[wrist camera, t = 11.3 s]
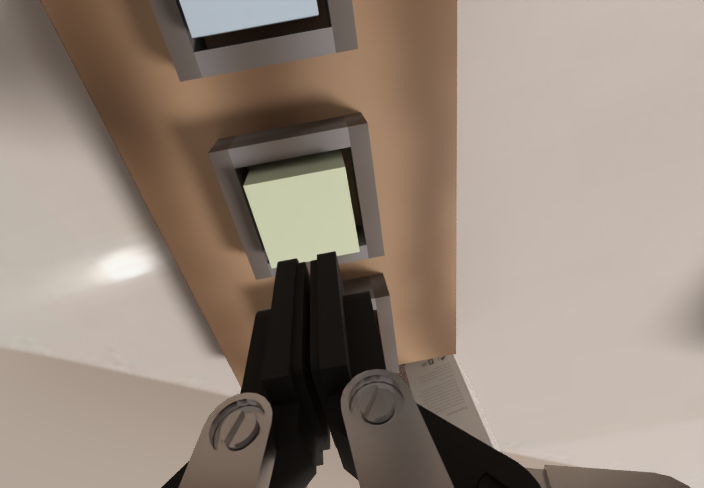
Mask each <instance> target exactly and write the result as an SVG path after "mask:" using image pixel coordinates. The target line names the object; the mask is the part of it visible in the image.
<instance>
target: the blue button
mask: <svg viewBox="0 0 704 488" xmlns="http://www.w3.org/2000/svg"><path fill="white" fill-rule="evenodd" d="M179 1H180V4H181V7H182V10H183V13H184V16H185V19H186V21H187V24H188V27H189V30H190V33H191V36H192V38H196V37H204V36H212V35H218V34H223V33H229V32H234V31H239V30H245V29H250V28H256V27H261V26H267V25H272V24H277V23H283V22H288V21H294V20H299V19H305V18H310V17H315V16H318V15H319V12H318V6H317V1H316V0H179Z"/></svg>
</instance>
